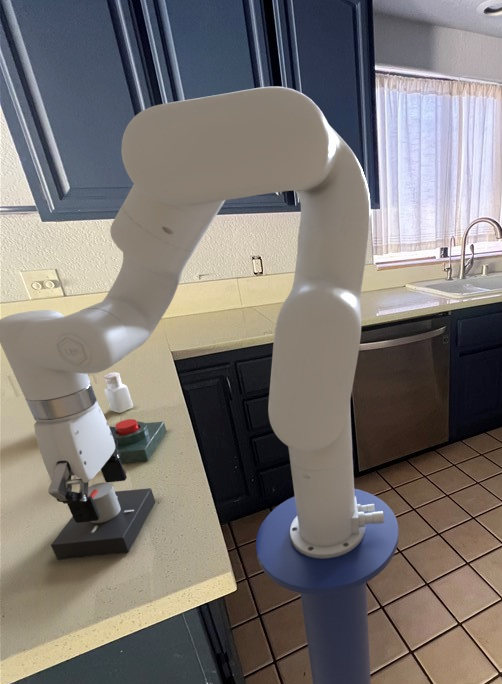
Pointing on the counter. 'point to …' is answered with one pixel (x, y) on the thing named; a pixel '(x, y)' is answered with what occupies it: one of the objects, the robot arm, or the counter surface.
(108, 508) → the hob knob
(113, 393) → the small white square bottle
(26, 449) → the counter surface
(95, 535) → the panel
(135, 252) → the robot arm
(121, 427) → the button
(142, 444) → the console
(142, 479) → the counter surface
